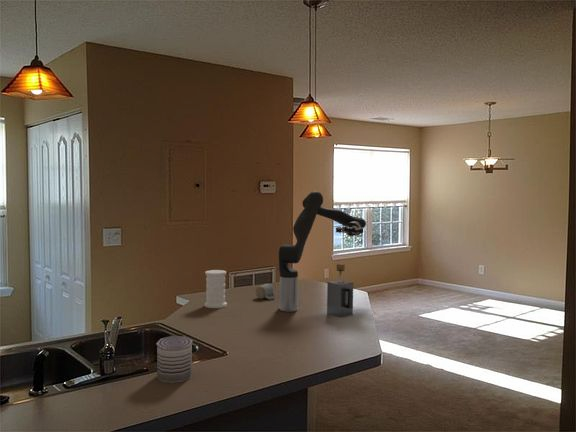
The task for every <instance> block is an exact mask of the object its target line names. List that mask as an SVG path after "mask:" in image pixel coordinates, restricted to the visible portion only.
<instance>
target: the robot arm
mask: <svg viewBox="0 0 576 432" xmlns="http://www.w3.org/2000/svg"><path fill="white" fill-rule="evenodd" d="M323 202H324V196H323V195H322V193H321V192H320V191H318V190H314V191H311V192H310V193H309V194H307V196H306V197H304V198H303V200H302V202H301V203H302V207H303V210H302V211H301V212H300V213H299V215H298V216H297V218H296V219H295V222H294V224H293V226H292V227H293V228H292V230H293V231H292V232H293V234H294V236H295V239H296V242H295V244H294V245H293V244H282V245H280V247H279V249H278V269H279V270H278V271H279V290H278V303H277V304H278V310H280V312H281V311H282V312H286V313H287V312H296V311H298V309H299V308H298V303H299V301H298V300H299V299H298V296H299V293H298V291H299V290H298V289H299V287H298V286H299V272H298V270H296V269H294V268H293V267H291V266H290V265H289V264H298V263H299V262H300V261H301V258H302V256H303V252H304V249H305V245H306V242H307V240H308V238H309V235H310V232H311V230H312V228H313V225H314V222H315V220H316V218H317V216H321V217H324V218H327V219H330V220H331V221H334V222H336V223H337V224H339V225H342V227H341V226H337V227H335V233H339V234H346V235H347V236H349V237H353V236H360V235H361V234H363V233H364V229H365V227H366V226H367V222H366V220H365V219H364V218H362V217H359V216H354V215H351V214H349V213H347V212H344V211H343V210H340V209H336V208H327V207H323V206H322V205H323Z"/></svg>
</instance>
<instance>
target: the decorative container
mask: <svg viewBox="0 0 576 432" xmlns="http://www.w3.org/2000/svg"><path fill="white" fill-rule="evenodd" d="M204 273H205V274H204V275H206V278H205V280H206V283H205V284H206V285H205V287H206V290H205V293H206V296H205V299H206V302H204V307H205V308H207V309H220V308H221V309H222V308H225V307H227V306H228V303H227V301H226V282H225V281H226V275H227V270H222V269H211V270H206V271H205V272H204Z"/></svg>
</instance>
